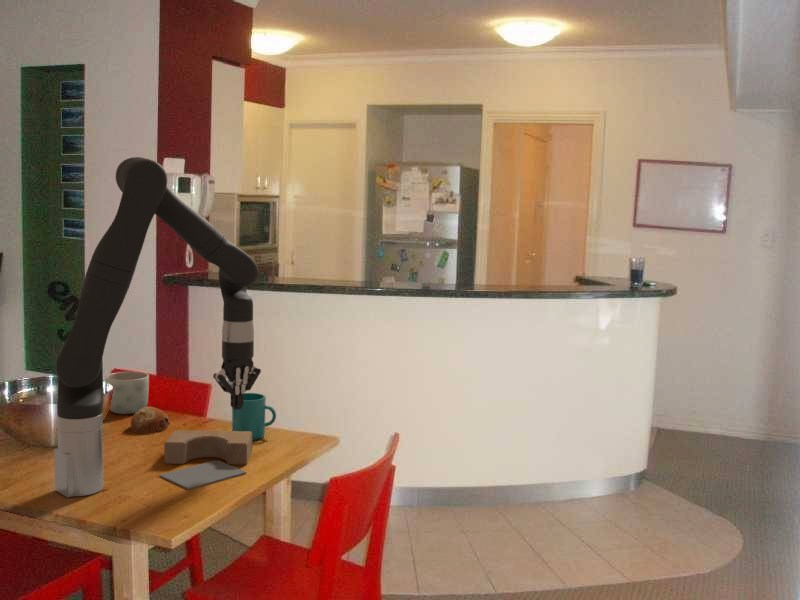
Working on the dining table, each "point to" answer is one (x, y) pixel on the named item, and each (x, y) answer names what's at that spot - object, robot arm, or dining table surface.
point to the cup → (252, 415)
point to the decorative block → (208, 446)
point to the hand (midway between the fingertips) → (237, 408)
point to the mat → (202, 474)
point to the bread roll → (149, 420)
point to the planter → (128, 391)
